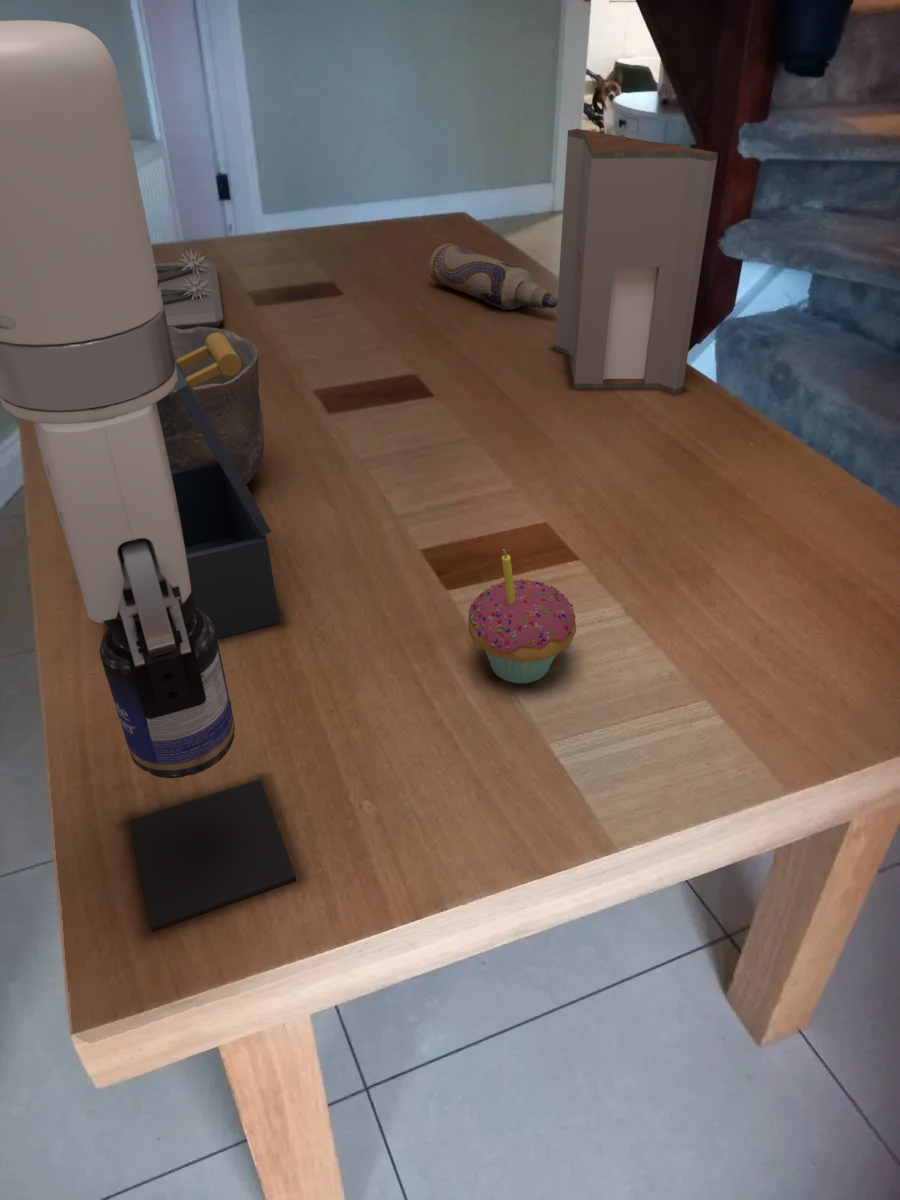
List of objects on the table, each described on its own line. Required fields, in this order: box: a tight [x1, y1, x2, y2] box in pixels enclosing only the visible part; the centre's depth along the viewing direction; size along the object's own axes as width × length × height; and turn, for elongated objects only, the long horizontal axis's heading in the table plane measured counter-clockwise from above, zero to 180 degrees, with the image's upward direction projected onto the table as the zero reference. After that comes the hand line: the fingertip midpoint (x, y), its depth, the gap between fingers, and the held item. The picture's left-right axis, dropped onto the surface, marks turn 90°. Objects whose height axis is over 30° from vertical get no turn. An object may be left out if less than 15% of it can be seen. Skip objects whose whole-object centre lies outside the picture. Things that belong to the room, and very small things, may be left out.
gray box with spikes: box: [155, 247, 224, 330], centre depth 145 cm, size 30×22×7 cm
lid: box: [174, 333, 272, 536], centre depth 75 cm, size 14×15×5 cm
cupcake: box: [467, 548, 577, 684], centre depth 71 cm, size 9×8×12 cm
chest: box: [171, 461, 281, 640], centre depth 81 cm, size 13×15×9 cm
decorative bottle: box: [428, 243, 558, 311], centre depth 144 cm, size 26×8×7 cm, turn 40°
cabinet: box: [554, 128, 719, 395], centre depth 114 cm, size 21×10×28 cm, turn 42°
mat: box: [128, 779, 297, 932], centre depth 60 cm, size 9×9×1 cm
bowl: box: [156, 326, 265, 485], centre depth 94 cm, size 18×18×15 cm
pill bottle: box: [99, 581, 236, 779], centre depth 51 cm, size 6×6×11 cm
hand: (163, 667), depth 51 cm, fingers closed on pill bottle, 6 cm apart
